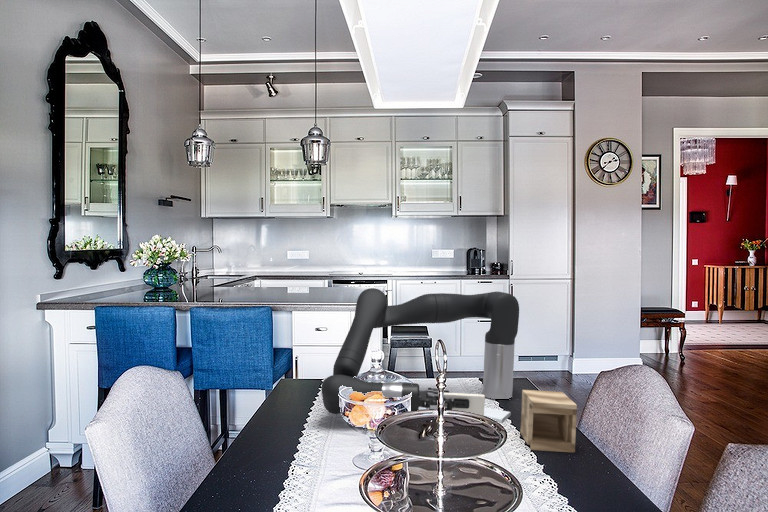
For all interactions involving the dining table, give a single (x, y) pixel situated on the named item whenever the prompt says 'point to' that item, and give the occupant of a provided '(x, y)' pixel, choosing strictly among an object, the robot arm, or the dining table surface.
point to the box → (548, 421)
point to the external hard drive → (497, 414)
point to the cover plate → (470, 402)
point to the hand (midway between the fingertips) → (467, 401)
